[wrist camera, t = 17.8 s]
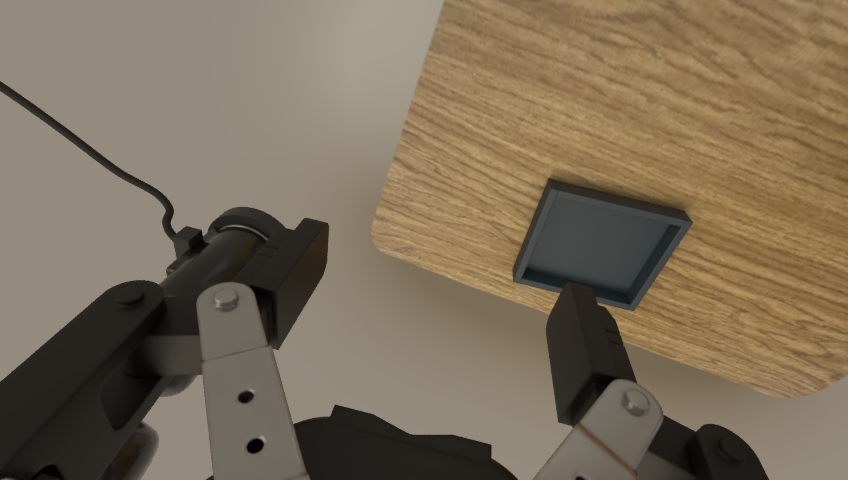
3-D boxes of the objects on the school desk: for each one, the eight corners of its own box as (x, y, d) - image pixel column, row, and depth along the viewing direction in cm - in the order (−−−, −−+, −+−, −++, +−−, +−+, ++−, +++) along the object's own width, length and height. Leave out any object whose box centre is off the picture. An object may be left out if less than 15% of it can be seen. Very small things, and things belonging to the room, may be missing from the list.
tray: (512, 269, 49) (512, 282, 47) (548, 178, 42) (550, 188, 40) (628, 298, 49) (634, 311, 47) (684, 210, 42) (693, 222, 40)
